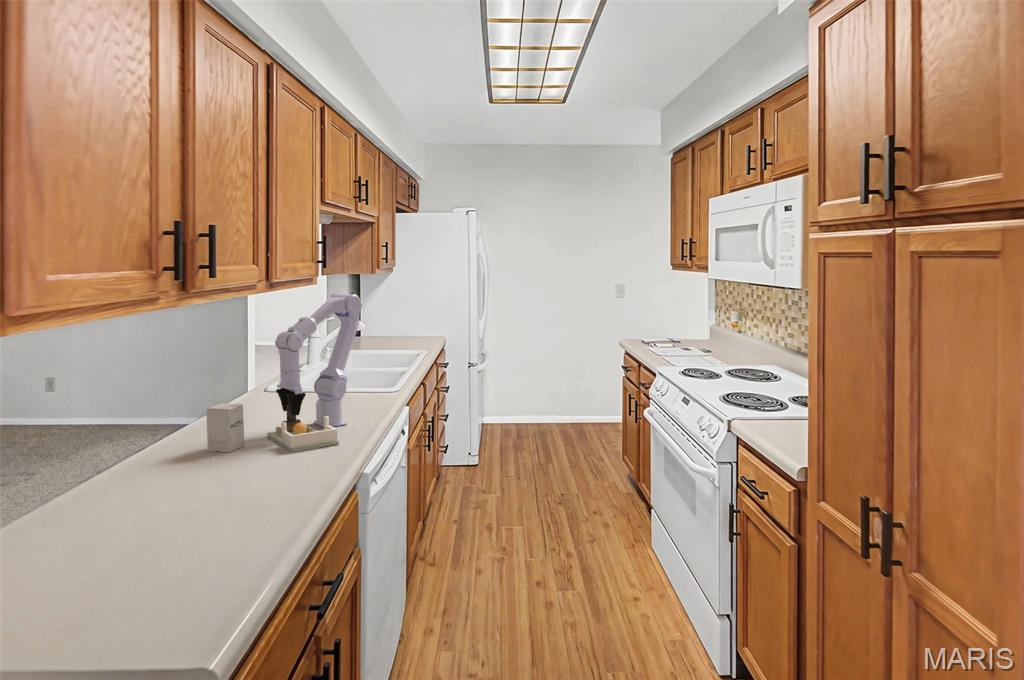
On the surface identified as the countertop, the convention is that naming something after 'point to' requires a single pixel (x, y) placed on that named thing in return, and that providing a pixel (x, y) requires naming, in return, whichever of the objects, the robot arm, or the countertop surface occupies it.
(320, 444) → the pitch
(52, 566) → the countertop surface
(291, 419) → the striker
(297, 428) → the ball
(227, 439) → the supplement box
